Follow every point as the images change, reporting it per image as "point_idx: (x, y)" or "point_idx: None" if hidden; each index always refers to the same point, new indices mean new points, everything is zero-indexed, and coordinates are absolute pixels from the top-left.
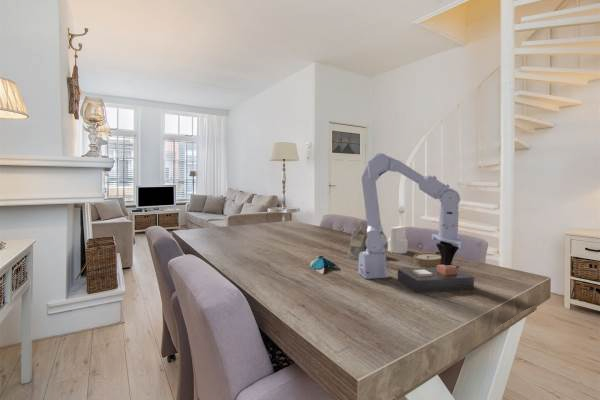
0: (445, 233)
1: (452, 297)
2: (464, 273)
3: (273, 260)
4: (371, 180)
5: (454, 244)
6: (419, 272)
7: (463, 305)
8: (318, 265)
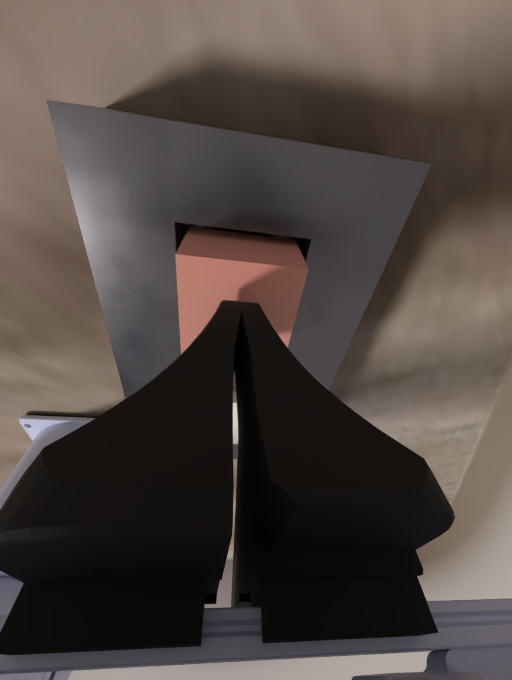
0: None
1: (377, 350)
2: (319, 161)
3: None
4: None
5: (462, 647)
6: (233, 438)
7: (441, 364)
8: None
